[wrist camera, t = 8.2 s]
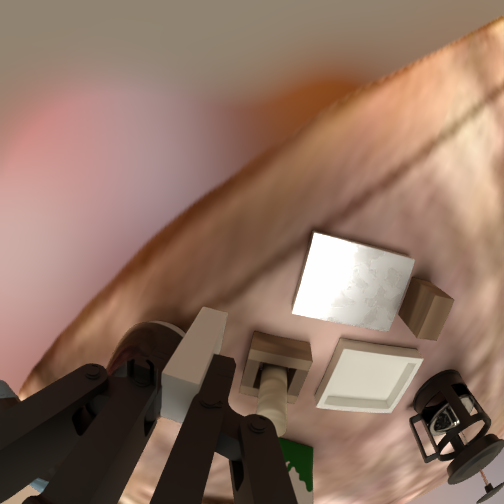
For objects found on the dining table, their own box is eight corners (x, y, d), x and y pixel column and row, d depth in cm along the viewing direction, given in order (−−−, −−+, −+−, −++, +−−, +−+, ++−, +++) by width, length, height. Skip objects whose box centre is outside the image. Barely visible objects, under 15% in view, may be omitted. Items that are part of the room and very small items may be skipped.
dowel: (261, 365, 34) (250, 435, 22) (266, 347, 33) (257, 417, 21) (283, 370, 33) (281, 440, 22) (290, 352, 33) (290, 422, 21)
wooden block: (398, 314, 30) (416, 338, 24) (412, 277, 29) (435, 295, 23) (416, 317, 30) (436, 340, 24) (430, 281, 29) (454, 299, 23)
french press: (464, 357, 31) (536, 454, 8) (462, 394, 32) (515, 482, 10) (401, 391, 33) (450, 514, 10) (405, 424, 34) (441, 528, 12)
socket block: (243, 373, 34) (238, 393, 30) (254, 331, 32) (250, 348, 29) (293, 384, 34) (294, 403, 30) (310, 343, 32) (312, 361, 28)
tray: (314, 395, 34) (315, 407, 32) (340, 337, 32) (343, 348, 29) (386, 402, 33) (390, 412, 31) (416, 349, 31) (423, 358, 28)
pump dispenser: (126, 343, 35) (67, 408, 21) (154, 294, 33) (83, 358, 18) (183, 385, 36) (144, 463, 21) (220, 342, 33) (184, 431, 19)
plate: (291, 304, 32) (292, 313, 29) (311, 229, 30) (314, 232, 27) (381, 322, 31) (388, 331, 29) (406, 254, 29) (415, 259, 26)
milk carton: (292, 467, 39) (288, 555, 20) (249, 454, 39) (232, 548, 19) (320, 446, 37) (326, 545, 17) (275, 431, 37) (265, 540, 17)
